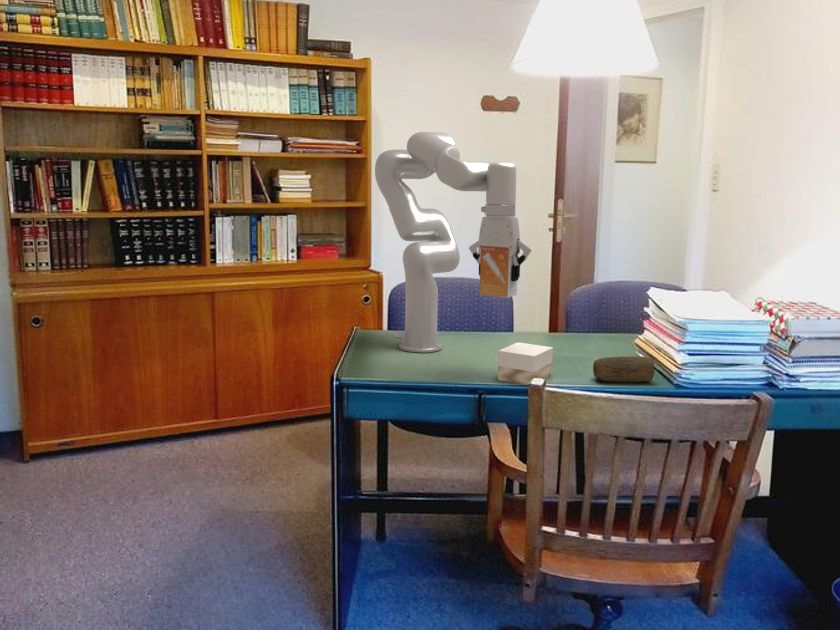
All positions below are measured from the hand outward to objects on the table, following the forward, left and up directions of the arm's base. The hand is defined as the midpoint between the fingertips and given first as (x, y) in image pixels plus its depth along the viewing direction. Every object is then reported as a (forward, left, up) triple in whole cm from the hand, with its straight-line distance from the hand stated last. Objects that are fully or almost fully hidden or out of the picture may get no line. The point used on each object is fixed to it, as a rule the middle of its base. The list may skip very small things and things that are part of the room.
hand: (498, 279), depth 201 cm
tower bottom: (+9, -1, -25) cm, 27 cm away
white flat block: (+9, -1, -21) cm, 23 cm away
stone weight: (+31, +9, -25) cm, 41 cm away
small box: (0, 0, -4) cm, 4 cm away
